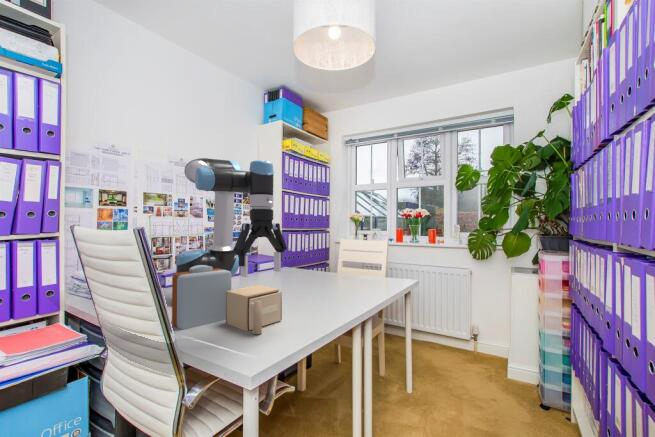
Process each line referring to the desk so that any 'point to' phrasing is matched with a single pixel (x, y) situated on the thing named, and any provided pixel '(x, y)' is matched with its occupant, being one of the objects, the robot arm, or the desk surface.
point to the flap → (264, 311)
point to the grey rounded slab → (199, 296)
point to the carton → (243, 304)
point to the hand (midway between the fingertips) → (261, 273)
